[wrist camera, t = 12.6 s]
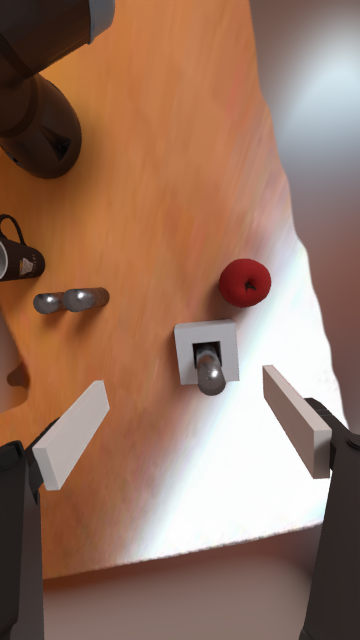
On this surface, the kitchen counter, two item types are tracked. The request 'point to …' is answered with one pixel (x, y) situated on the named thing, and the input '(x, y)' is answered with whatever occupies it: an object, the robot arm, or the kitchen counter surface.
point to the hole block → (207, 333)
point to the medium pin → (85, 298)
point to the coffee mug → (18, 257)
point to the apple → (245, 283)
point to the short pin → (49, 302)
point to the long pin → (209, 370)
